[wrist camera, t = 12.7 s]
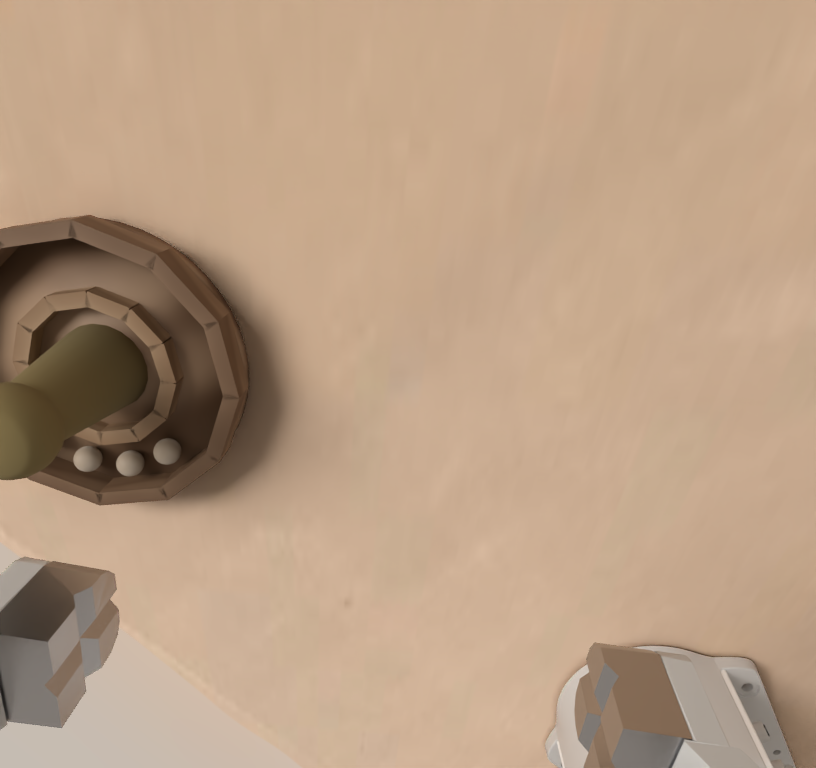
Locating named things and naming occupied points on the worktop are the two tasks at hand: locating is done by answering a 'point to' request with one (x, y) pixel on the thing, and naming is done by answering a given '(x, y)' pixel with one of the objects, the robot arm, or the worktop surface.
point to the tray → (150, 331)
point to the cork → (66, 395)
